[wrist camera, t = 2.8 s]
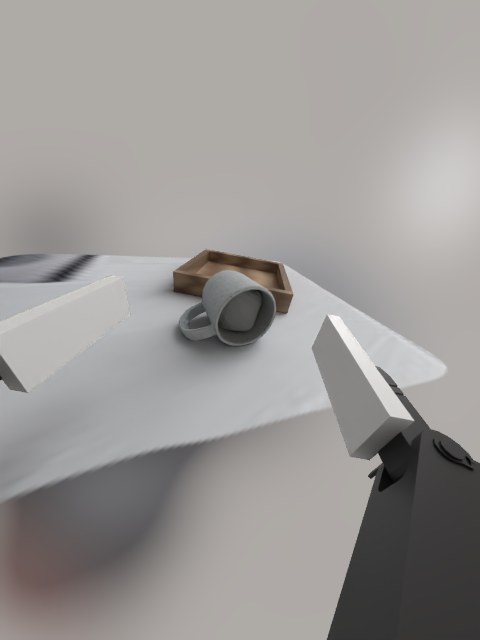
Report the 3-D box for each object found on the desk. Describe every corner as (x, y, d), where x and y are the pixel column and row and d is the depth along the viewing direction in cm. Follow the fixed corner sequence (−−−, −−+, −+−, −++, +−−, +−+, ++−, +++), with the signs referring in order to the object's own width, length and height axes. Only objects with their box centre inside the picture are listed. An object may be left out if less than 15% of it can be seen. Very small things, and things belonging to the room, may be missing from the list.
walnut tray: (174, 291, 32) (173, 271, 30) (205, 262, 49) (206, 249, 47) (287, 312, 32) (293, 294, 30) (279, 276, 49) (282, 263, 47)
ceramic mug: (242, 310, 30) (250, 263, 26) (269, 341, 24) (285, 286, 20) (175, 317, 26) (171, 262, 21) (186, 358, 20) (185, 292, 15)
